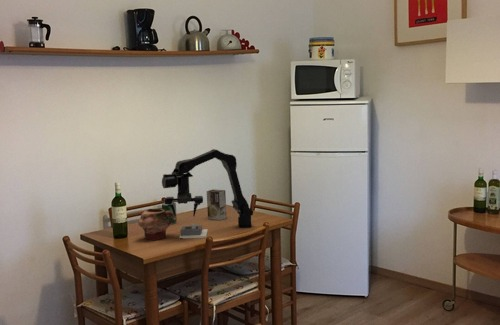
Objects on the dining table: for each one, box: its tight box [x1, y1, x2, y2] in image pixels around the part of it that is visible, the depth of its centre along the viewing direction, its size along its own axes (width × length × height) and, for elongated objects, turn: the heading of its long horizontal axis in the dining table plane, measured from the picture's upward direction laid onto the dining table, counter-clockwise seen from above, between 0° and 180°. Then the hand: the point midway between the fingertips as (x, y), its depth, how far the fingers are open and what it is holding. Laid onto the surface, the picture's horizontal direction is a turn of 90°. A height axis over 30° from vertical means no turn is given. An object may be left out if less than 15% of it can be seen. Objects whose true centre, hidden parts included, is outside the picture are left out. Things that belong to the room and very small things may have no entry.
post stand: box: [179, 223, 209, 239], centre depth 277 cm, size 13×13×6 cm
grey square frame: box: [179, 224, 203, 236], centre depth 277 cm, size 10×10×2 cm
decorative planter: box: [138, 208, 174, 241], centre depth 275 cm, size 20×12×14 cm, turn 137°
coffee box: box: [206, 188, 227, 221], centre depth 311 cm, size 9×6×16 cm
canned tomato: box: [161, 202, 178, 225], centre depth 305 cm, size 8×8×11 cm
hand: (184, 216), depth 276 cm, fingers open, 9 cm apart
